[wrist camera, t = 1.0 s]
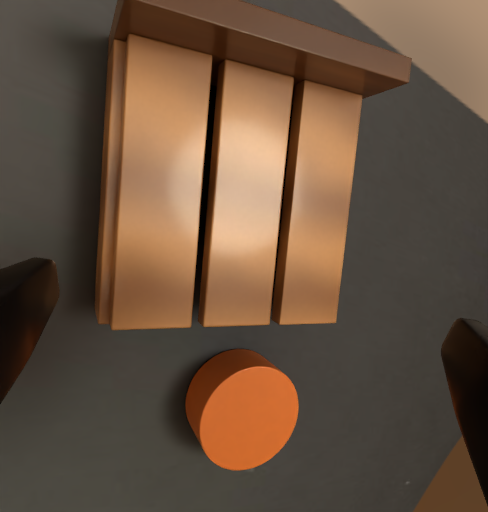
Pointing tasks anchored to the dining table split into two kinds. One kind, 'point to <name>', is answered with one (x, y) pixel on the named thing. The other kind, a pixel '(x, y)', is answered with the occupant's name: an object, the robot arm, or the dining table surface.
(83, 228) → the dining table surface
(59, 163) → the dining table surface
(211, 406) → the cylinder
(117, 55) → the rack
